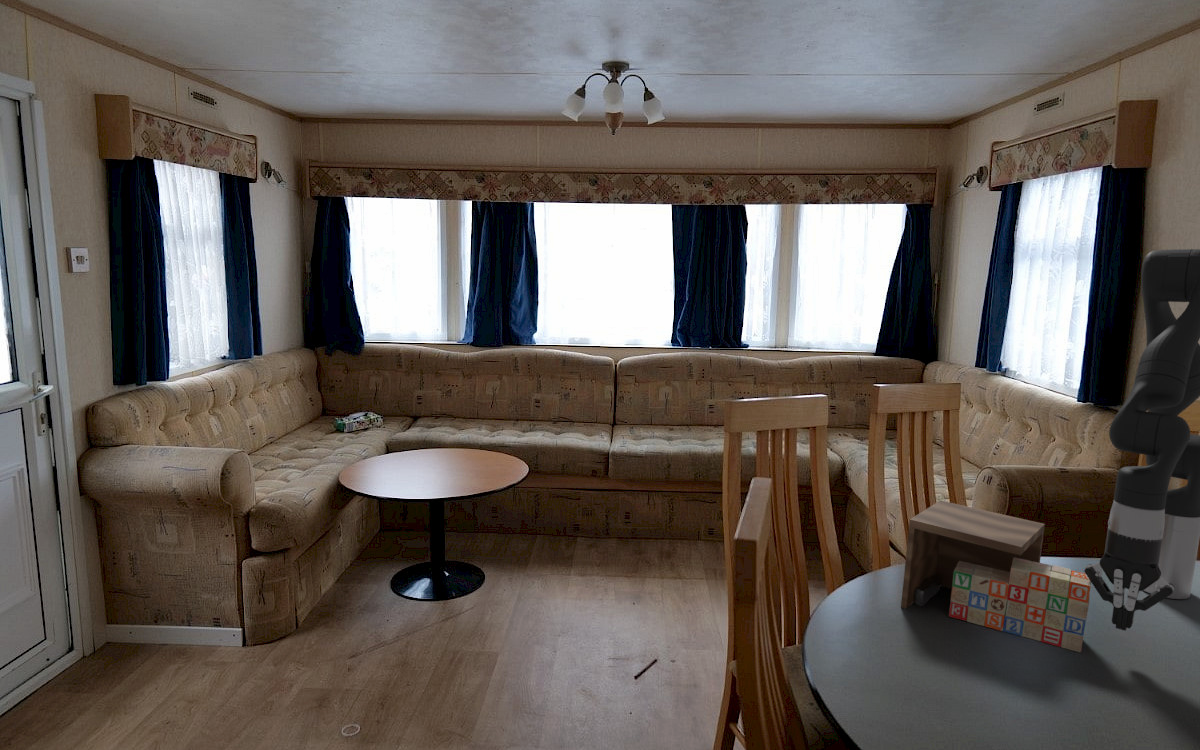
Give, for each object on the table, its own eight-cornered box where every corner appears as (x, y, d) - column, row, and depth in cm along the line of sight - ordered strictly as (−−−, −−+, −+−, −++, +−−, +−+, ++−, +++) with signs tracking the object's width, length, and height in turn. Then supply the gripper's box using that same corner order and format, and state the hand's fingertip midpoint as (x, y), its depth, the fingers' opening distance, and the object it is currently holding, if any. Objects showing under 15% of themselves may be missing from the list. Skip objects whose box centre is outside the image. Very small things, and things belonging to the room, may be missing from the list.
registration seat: (931, 588, 157) (933, 574, 156) (939, 590, 156) (941, 576, 155) (914, 603, 149) (915, 589, 149) (922, 606, 148) (923, 591, 148)
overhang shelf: (931, 581, 160) (940, 500, 157) (1033, 611, 148) (1044, 524, 145) (900, 607, 147) (909, 519, 145) (1009, 642, 135) (1021, 547, 132)
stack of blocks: (947, 617, 144) (954, 554, 142) (953, 605, 149) (960, 544, 147) (1082, 653, 132) (1091, 585, 130) (1083, 638, 137) (1092, 573, 136)
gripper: (1186, 534, 127) (1171, 633, 129) (1092, 515, 135) (1080, 608, 138) (1182, 546, 121) (1166, 649, 124) (1084, 525, 130) (1072, 622, 132)
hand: (1121, 627), depth 131 cm, fingers closed
